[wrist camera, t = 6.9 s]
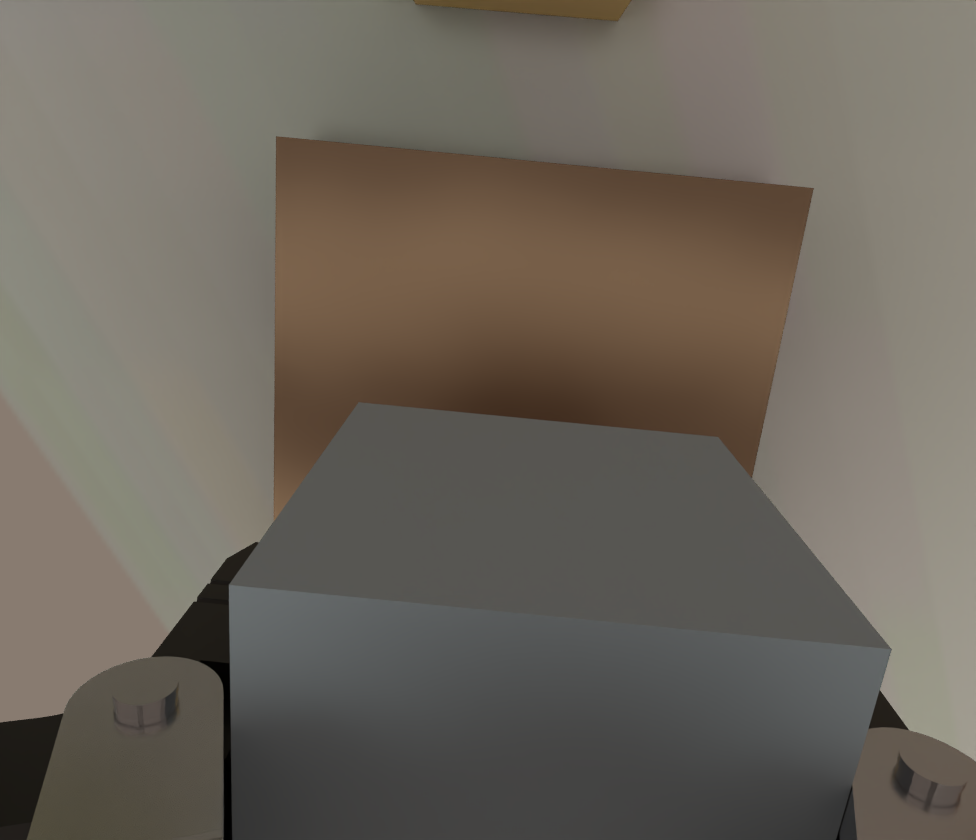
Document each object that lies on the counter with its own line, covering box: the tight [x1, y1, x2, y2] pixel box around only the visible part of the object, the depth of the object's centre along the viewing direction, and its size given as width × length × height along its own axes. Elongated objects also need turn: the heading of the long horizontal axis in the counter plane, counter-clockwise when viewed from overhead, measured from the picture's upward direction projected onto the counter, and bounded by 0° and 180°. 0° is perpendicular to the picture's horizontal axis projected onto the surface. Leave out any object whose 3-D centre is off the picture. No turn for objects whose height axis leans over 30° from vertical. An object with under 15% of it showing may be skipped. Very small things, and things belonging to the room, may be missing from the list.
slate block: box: [229, 402, 892, 840], centre depth 9 cm, size 5×5×5 cm
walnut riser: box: [274, 136, 814, 521], centre depth 20 cm, size 12×12×3 cm
